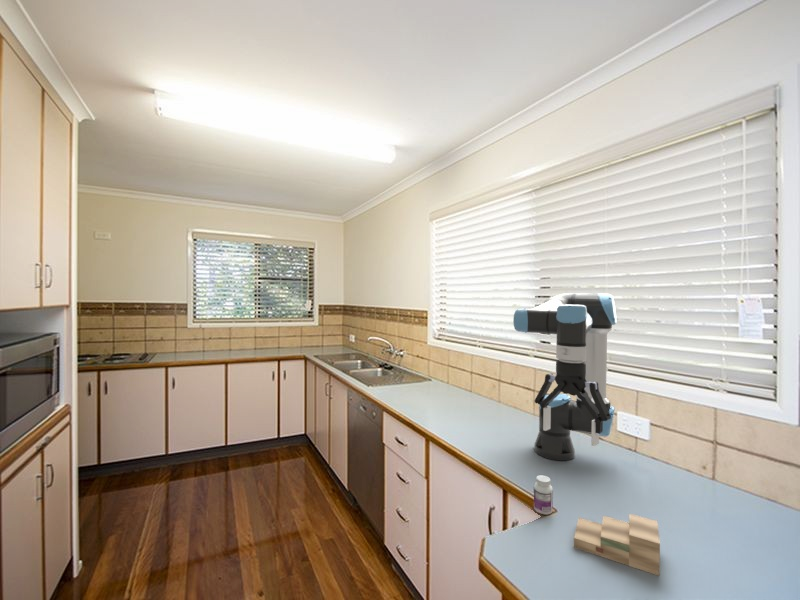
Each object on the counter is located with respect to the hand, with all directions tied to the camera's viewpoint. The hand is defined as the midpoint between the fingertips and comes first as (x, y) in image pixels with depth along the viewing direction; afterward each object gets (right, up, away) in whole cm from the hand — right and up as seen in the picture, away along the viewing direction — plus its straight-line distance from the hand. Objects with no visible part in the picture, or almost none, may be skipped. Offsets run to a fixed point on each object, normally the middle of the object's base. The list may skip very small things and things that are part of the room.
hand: (569, 436), depth 104 cm
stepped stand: (+8, -26, -8) cm, 28 cm away
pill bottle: (-4, -25, +8) cm, 27 cm away
